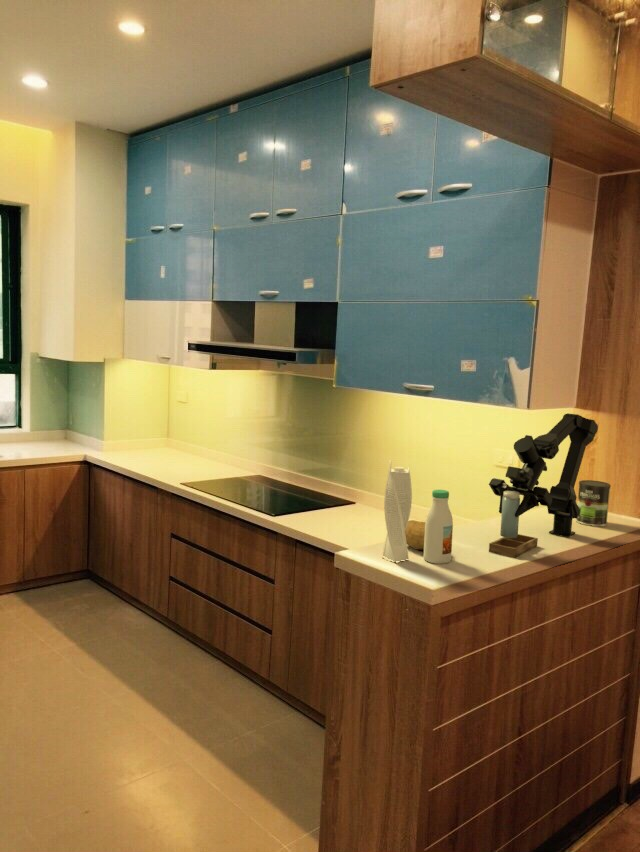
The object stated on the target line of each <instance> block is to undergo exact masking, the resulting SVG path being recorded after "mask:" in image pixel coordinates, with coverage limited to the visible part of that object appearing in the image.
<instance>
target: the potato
mask: <svg viewBox="0 0 640 852" xmlns="http://www.w3.org/2000/svg"><path fill="white" fill-rule="evenodd" d="M425 522H426V521H419V520H412V519H411V520H410V519H409V520H408V524H407V527H406V530H405V535H406V542H407V546H409V547H411V548H413V549H415V548H416V550H419V549H420V550H422V551H424V537H425Z"/></svg>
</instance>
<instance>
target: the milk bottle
mask: <svg viewBox="0 0 640 852" xmlns="http://www.w3.org/2000/svg"><path fill="white" fill-rule="evenodd" d="M431 494H432V495H431V496H432V497H431V499H432V503H431V505H430V508H429V509H428V512H427V514H426V516H425V517H426V518H425V521H424V522H425V537H424V550H423V559H425V560H426V562H427V561H428V563H431V564H436V565H437V564H439V565H443V564H449V563H450V562H451V560H452V547H453V532H454V531H453V528H454V525H453V524H454V523H453V522H454V521H453V515H452V512H451V509H450V506H449V501H448V500H449V499H450V498H449V497H450V492H449V491H448V490H446V489H433V490H432V493H431ZM425 560H424V561H425Z"/></svg>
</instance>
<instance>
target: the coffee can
mask: <svg viewBox="0 0 640 852" xmlns="http://www.w3.org/2000/svg"><path fill="white" fill-rule="evenodd" d="M611 487H612V486H611V484H610V483H608V482H604V481H599V480H589V479H587V480H586V479H585V480H583V479H582V480H579V481H578V493H577V494H578V496H577V505H578V507H579V509H580V513H579V517H578V518H575V522H576V521H577V522H576V523H578V524H580V523H581V524H580V525H583V524H585V525H584V526H588V525H592V526H591V527H605V526H607V525H608V515H609V513H608V512H609V503H610V494H611V493H610V492H611V491H610V490H611Z"/></svg>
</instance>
